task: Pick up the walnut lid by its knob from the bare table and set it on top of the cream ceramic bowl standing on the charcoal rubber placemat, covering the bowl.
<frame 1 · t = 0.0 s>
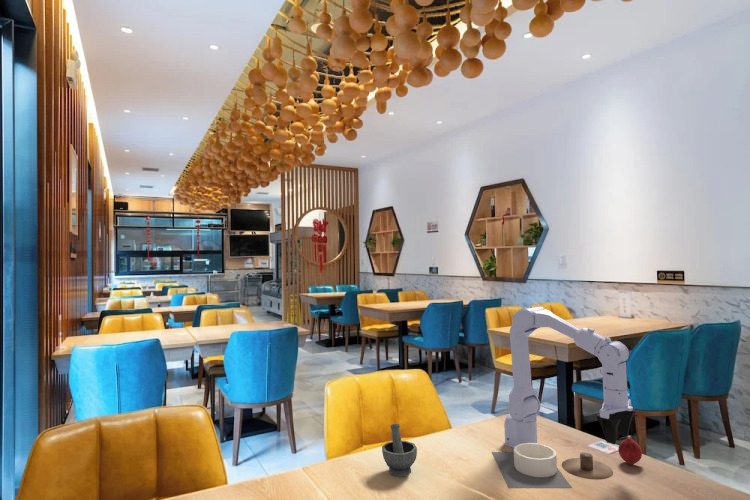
hand: (617, 439, 120), 10 cm above the table, tool pointing down, fingers open, 7 cm apart
placemat: (528, 469, 126), on the table
mortar and pestle: (399, 471, 127), on the table
bowl: (535, 468, 125), resting on placemat
lid: (586, 471, 125), on the table
onion: (630, 465, 127), on the table
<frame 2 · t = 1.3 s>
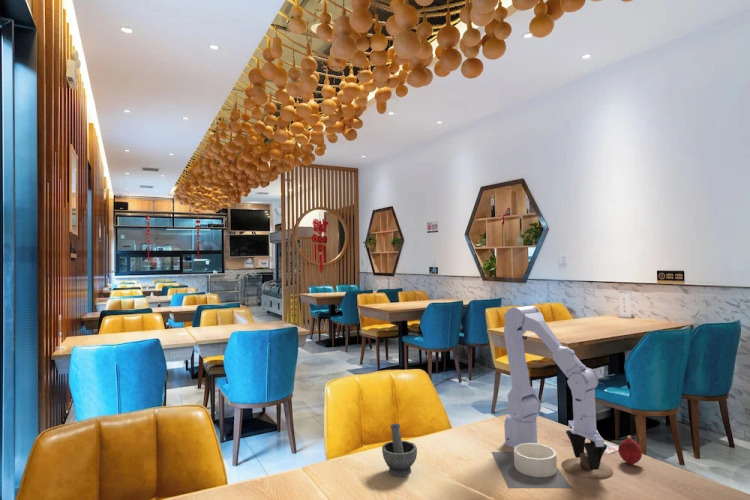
hand: (586, 462, 125), 2 cm above the table, tool pointing down, fingers open, 7 cm apart
nothing on the table moved.
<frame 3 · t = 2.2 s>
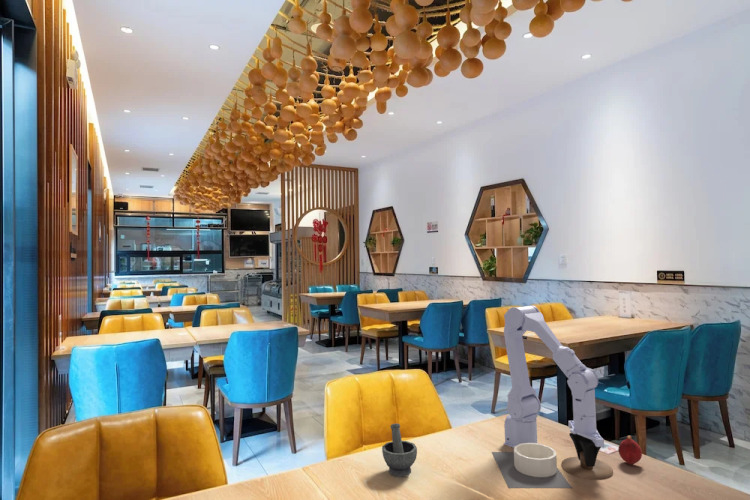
hand: (586, 462, 125), 2 cm above the table, tool pointing down, fingers closed on lid, 3 cm apart
lid: (586, 469, 125), on the table, touching gripper
everything else where it was.
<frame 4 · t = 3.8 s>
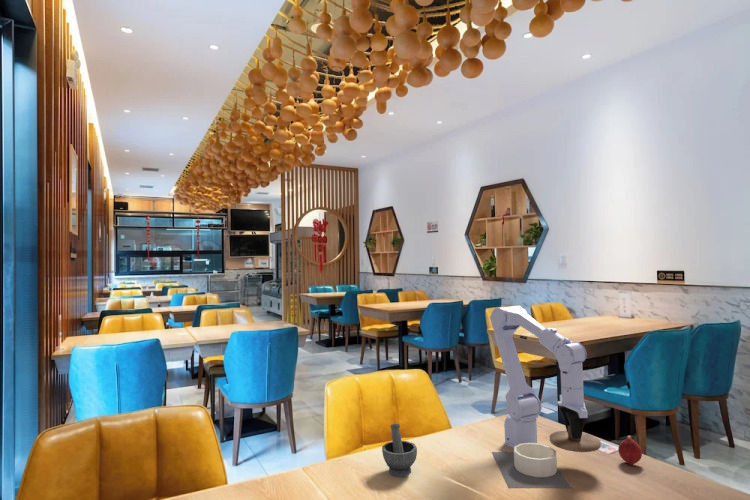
hand: (574, 435, 125), 9 cm above the table, tool pointing down, fingers closed on lid, 3 cm apart
lid: (574, 442, 125), point 7 cm above the table, touching gripper
everything else where it was.
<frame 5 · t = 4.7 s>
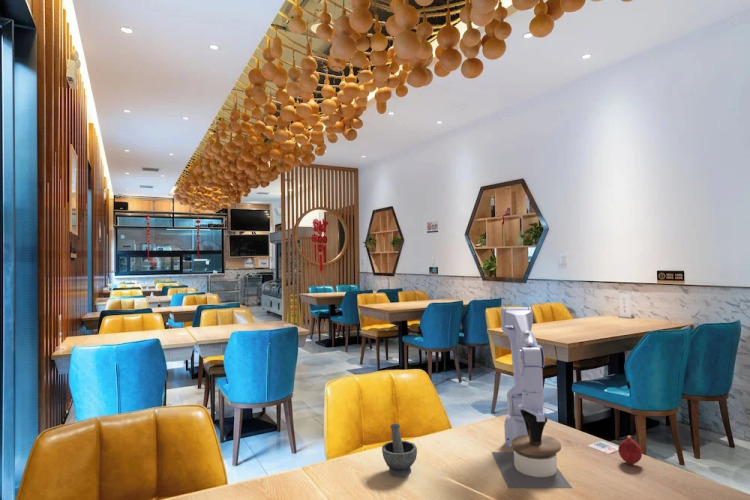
hand: (534, 439, 126), 8 cm above the table, tool pointing down, fingers closed on lid, 3 cm apart
lid: (536, 446, 126), point 7 cm above the table, touching gripper
everything else where it was.
when the fingers open (8 cm above the table, at t = 5.5 s): lid stays where it is, resting on bowl.
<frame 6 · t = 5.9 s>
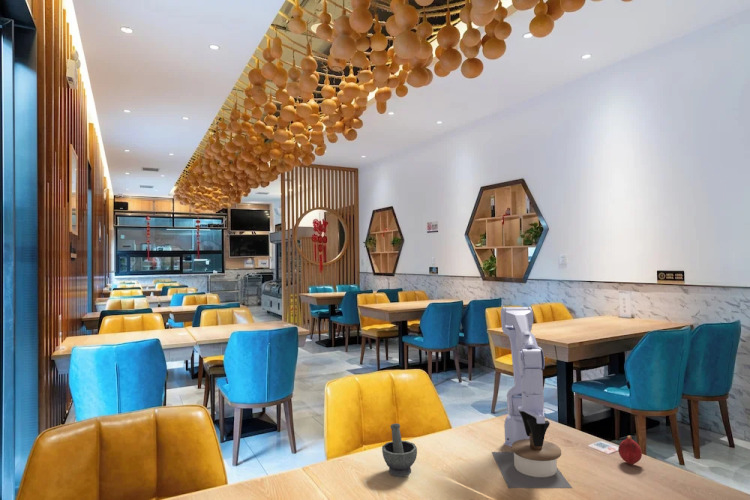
hand: (534, 440, 126), 8 cm above the table, tool pointing down, fingers open, 7 cm apart
bowl: (535, 468, 125), resting on placemat, touching lid
lid: (536, 450, 126), point 5 cm above the table, touching bowl
everything else where it was.
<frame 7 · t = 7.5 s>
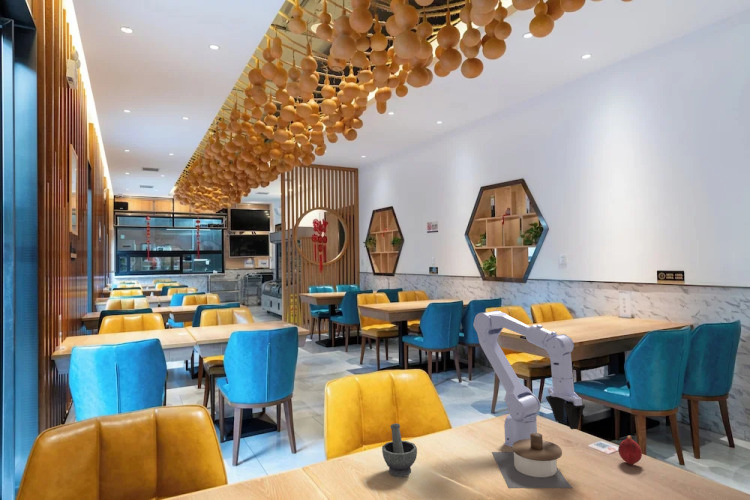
hand: (566, 424, 131), 10 cm above the table, tool pointing down, fingers open, 7 cm apart
nothing on the table moved.
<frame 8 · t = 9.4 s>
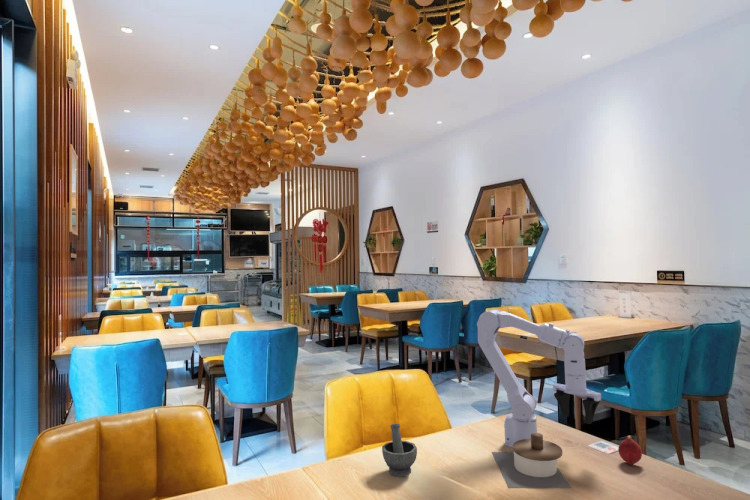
hand: (577, 419, 134), 10 cm above the table, tool pointing down, fingers open, 7 cm apart
nothing on the table moved.
at the end: lid 0.7 cm off-centre on the bowl, point 4.8 cm above the bowl's base; lid tilted 0°; lid touching bowl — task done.
